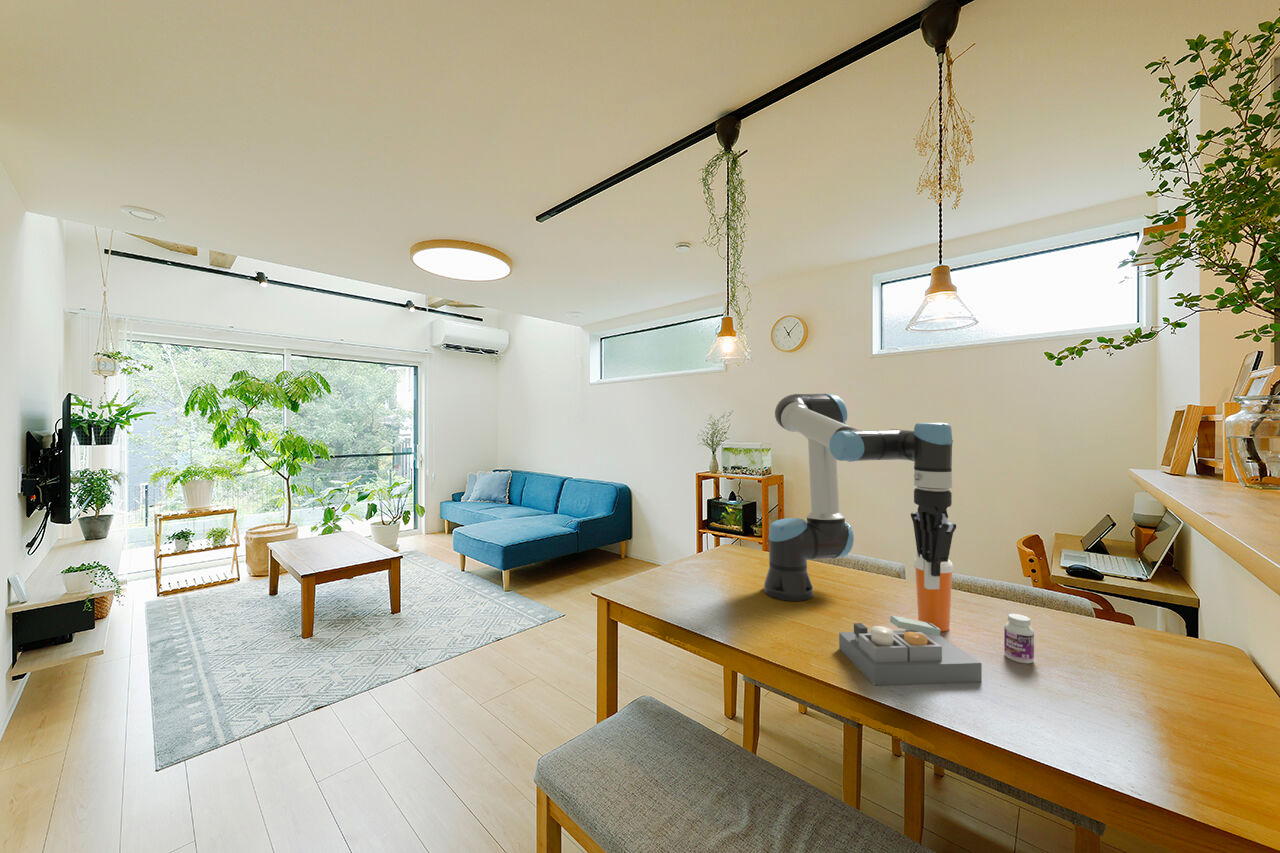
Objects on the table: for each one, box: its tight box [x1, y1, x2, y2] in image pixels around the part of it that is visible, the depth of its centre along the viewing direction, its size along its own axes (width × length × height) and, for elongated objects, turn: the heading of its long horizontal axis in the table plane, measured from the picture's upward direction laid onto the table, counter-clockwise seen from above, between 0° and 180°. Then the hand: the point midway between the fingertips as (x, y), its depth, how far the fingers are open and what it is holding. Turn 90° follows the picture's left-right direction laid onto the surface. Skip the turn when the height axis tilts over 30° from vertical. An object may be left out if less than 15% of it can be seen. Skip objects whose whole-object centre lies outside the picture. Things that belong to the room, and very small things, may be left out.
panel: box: [838, 629, 983, 686], centre depth 106 cm, size 16×23×7 cm
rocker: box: [889, 614, 942, 636], centre depth 110 cm, size 4×10×2 cm, turn 92°
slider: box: [853, 622, 869, 637], centre depth 110 cm, size 3×2×2 cm, turn 2°
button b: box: [904, 632, 927, 645], centre depth 103 cm, size 4×4×3 cm
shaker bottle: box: [913, 552, 954, 632], centre depth 126 cm, size 9×9×20 cm
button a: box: [870, 625, 894, 646], centre depth 103 cm, size 4×4×3 cm
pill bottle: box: [1003, 613, 1035, 664], centre depth 109 cm, size 5×5×10 cm
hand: (931, 588), depth 111 cm, fingers closed
